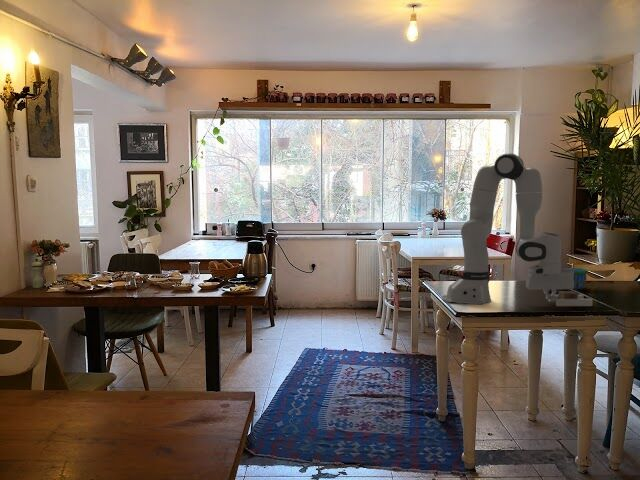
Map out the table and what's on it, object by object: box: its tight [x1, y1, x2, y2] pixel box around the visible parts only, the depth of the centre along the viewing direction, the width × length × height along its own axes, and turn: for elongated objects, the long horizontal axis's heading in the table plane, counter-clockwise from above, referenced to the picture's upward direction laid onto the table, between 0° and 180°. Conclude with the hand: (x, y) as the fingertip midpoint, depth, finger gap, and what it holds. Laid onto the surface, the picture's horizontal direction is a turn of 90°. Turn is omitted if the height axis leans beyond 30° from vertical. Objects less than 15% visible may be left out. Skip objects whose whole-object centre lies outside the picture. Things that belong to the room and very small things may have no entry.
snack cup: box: [565, 267, 588, 290], centre depth 267 cm, size 16×10×10 cm
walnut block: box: [557, 290, 579, 299], centre depth 229 cm, size 6×6×5 cm
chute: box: [548, 294, 594, 307], centre depth 229 cm, size 15×10×4 cm, turn 87°
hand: (549, 299), depth 229 cm, fingers closed
